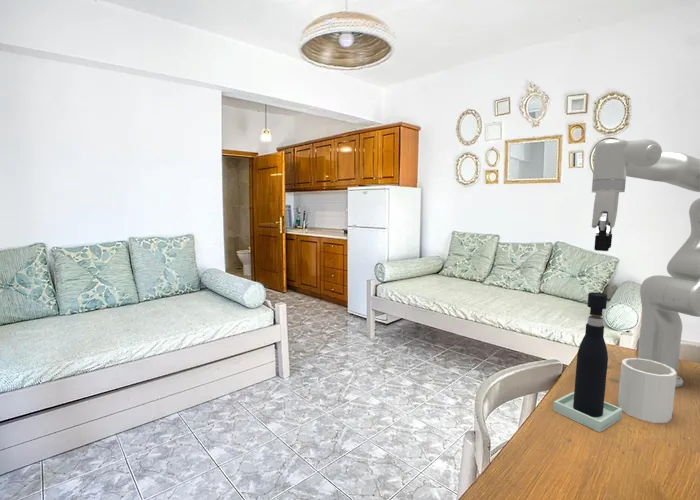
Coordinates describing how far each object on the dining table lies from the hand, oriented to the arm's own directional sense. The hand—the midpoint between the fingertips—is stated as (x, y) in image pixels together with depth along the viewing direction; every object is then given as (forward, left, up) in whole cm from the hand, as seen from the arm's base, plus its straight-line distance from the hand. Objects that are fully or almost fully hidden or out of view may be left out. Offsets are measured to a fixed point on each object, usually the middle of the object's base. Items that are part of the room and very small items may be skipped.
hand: (602, 249), depth 105 cm
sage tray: (+17, +7, -40) cm, 44 cm away
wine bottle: (+17, +7, -40) cm, 43 cm away
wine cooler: (+3, +14, -40) cm, 43 cm away
